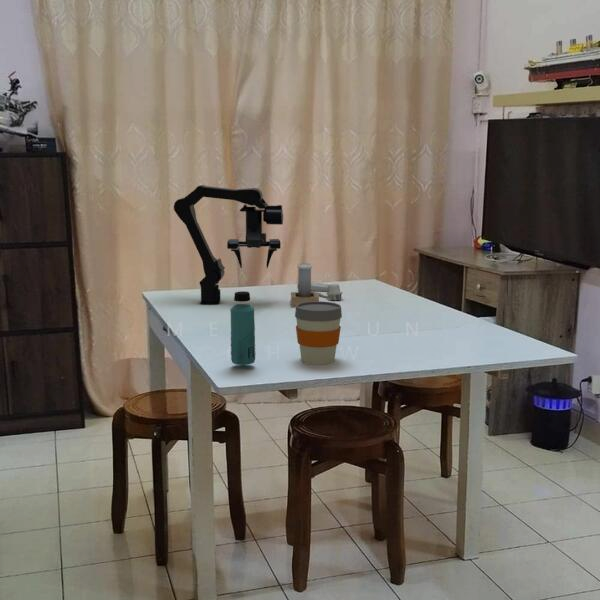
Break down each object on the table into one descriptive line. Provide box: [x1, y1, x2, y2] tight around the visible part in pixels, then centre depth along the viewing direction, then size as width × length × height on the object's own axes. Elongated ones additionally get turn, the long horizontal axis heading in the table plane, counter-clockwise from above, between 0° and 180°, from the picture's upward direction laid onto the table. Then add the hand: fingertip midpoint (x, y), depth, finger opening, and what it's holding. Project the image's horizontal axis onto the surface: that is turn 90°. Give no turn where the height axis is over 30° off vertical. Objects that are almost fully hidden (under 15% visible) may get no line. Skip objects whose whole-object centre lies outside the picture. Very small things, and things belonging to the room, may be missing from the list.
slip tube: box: [296, 262, 313, 297], centre depth 284 cm, size 5×5×14 cm
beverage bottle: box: [229, 291, 257, 366], centre depth 207 cm, size 6×7×20 cm
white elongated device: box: [297, 281, 343, 301], centre depth 302 cm, size 5×7×25 cm
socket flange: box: [289, 291, 320, 308], centre depth 285 cm, size 10×10×4 cm
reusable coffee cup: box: [294, 300, 343, 366], centre depth 214 cm, size 13×12×15 cm
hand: (254, 268), depth 284 cm, fingers open, 9 cm apart
